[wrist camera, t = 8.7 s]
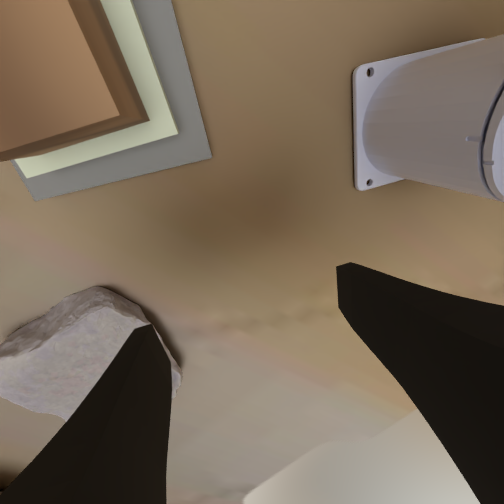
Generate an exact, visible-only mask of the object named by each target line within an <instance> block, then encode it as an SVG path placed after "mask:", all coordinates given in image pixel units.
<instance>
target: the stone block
mask: <svg viewBox="0 0 504 504" xmlns="http://www.w3.org/2000/svg"><path fill="white" fill-rule="evenodd" d="M148 324H151V323H150V322H149V321H148V320H147V319H146V318H145V315H144V314H143V312H142V310H141V308H140V307H139V306H138V304H135V303H132V302H131V301H129V300H127V299H126V298H124V297H122V296H120V295H118V294H116V293H114V292H113V291H111V290H108V289H106V288H103V287H100V286H95V287H92V288H89V289H87V290H84V291H81V292H78V293H75V294H72V295H70V296H67V297H65V298H64V299H63V300H62V301H61V302H59V303H58V304H57V305H56V306H55V307H52V308H51V309H50V311H49V312H48V313H47V314H46V315H44V316H42V317H41V318H38V319H35V320H34V321H31V322H30V323H28V324H27V325H25V326H23V327H21V328H20V329H18V330H17V331H15V332H14V333H12V334H11V335H10V336H9V337H8V339H7V340H5V341H4V342H3V343H2V344H1V345H0V396H1V397H2V398H4V399H7V400H9V401H11V402H12V403H14V404H17V405H20V406H22V407H23V408H26V409H29V410H31V411H33V412H38V413H49V414H54V415H57V416H59V417H61V418H63V419H64V420H65V421H66V422H67V420H68V419H69V418H70V417H71V415H72V414H73V413H74V412H75V410H76V409H77V408H78V406H79V405H80V404H81V402H82V401H83V400H84V399H85V397H86V396H87V395H88V393H89V392H90V391H91V389H92V388H93V387H94V385H95V384H96V383H97V381H98V380H99V379H100V377H101V376H102V374H103V373H104V372H105V370H106V369H107V367H108V366H109V365H110V363H111V362H112V360H113V359H114V357H115V356H116V354H117V353H118V352H119V350H120V349H121V347H122V346H123V344H124V343H125V341H126V340H127V338H128V337H129V336H130V334H131V333H132V331H133V330H134V329H135V328H138V327H141V326H145V325H148ZM152 325H153V324H152ZM153 327H154V326H153ZM154 329H155V327H154ZM155 331H156V329H155ZM156 333H157V335H158V337H159V339H160V341H161V343H162V345H163V347H164V349H165V351H166V353H167V355H168V357H169V359H170V361H171V372H172V399H173V398H174V397H175V396H176V394H177V388H179V387H180V386H181V382H182V377H183V376H182V370H181V368H180V367H179V366H178V364H177V362H176V361H175V360H174V359H173V357H172V356H171V354H170V352H169V350H168V349H167V347H166V345H165V344H164V343H163V341H162V338H161V336H160V335H159V334H158V332H157V331H156Z"/></svg>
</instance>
